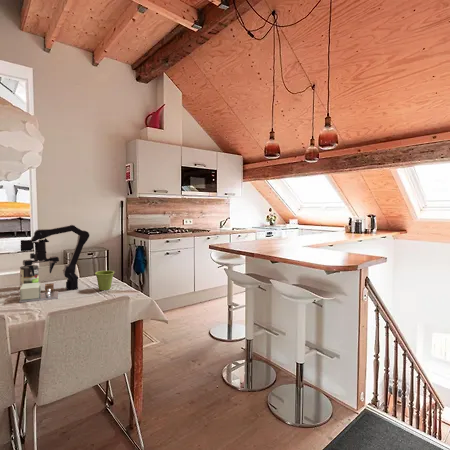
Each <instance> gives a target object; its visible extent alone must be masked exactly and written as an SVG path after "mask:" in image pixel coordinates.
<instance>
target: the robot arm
mask: <svg viewBox="0 0 450 450" xmlns="http://www.w3.org/2000/svg"><path fill="white" fill-rule="evenodd" d="M70 232H73V234H75V235H78V236H77V242H76V245H75V248H74V250H73V252H72V255H71V258H70V260H69V262H68V264H64V267H63V270H62V274H63V276H64V277H65V278H66V281H65V289H66V291H71V290H79V283H78V282H79V281H78V280H79V277H78V275H77V274H76V265H77V263H78V260H79V257H80V255H81V253H82V250H83V247H84V245H85V244H86V243H87V241H88V240H89V238H90V232H88V231H86V230H81V229H80V228H78V227H77V226H76V225H74V224H69V225H65V226H61V227H55V228H42V229H41V228H40V229H36V230H35V231H33V236H32V237H31V239H21V240H20V245H19V246H20V252H29V251H30V252H31V251H32V250H34V253H33V252H32V253H30V254H29V259H23V260H22V266H27V267H29V269H30V270H31V272H32V275H33V276H34V268H33V265H34V264H38V263H39V264H41V263H48V264H49V274H51V273H52V271H53V269H54V266H55V265H56V264H57V262H60V258H59V257H58V256H56V255H55V256H54V255H53V256H49V257H48V258H47V246H46V243H49V242H50V240H48V237H51V236H54V235H60V234H65V233H70Z"/></svg>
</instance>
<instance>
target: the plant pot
mask: <svg viewBox="0 0 450 450" xmlns="http://www.w3.org/2000/svg"><path fill="white" fill-rule="evenodd" d="M114 274H115V270H99V271H96V272H95V277H96V280H97V285H98V286H97V287H98V290H99V291H102V290H106V291H108V289H110V288H112V281H113V278H114ZM110 290H111V289H110Z"/></svg>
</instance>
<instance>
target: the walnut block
mask: <svg viewBox="0 0 450 450" xmlns="http://www.w3.org/2000/svg"><path fill="white" fill-rule="evenodd" d="M54 284H55V283H45V285H44V293H45V292H47V289H51V292H55V291H54V290H55V289H54Z"/></svg>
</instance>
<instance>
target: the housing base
mask: <svg viewBox="0 0 450 450" xmlns="http://www.w3.org/2000/svg"><path fill="white" fill-rule="evenodd" d="M58 298H59V290H58V291H56V290H55V291H54V292H51V289H47V292H45V291H44V292H40V293H39V298H34V299H24V300H20V299H19V300H18V303H19V304H21V303H30V302H37V301H38V302H39V301H40V302H41V301H48V300H54V299H58Z"/></svg>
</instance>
